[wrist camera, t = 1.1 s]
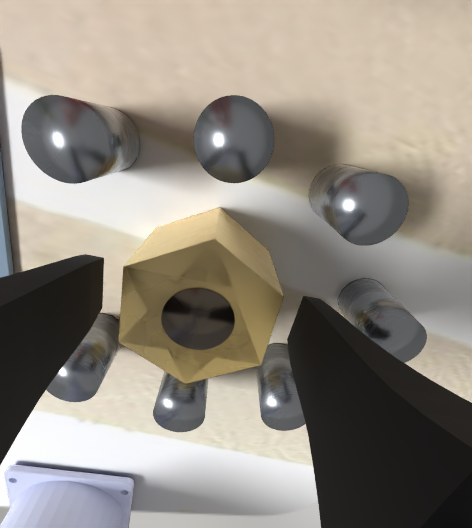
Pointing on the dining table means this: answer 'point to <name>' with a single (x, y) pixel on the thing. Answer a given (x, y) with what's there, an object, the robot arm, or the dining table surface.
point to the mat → (4, 232)
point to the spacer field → (232, 171)
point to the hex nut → (200, 298)
